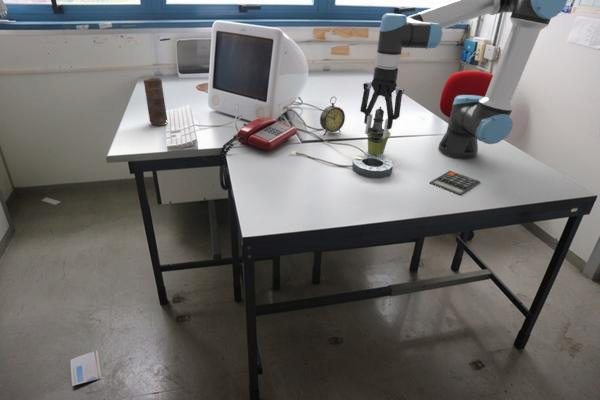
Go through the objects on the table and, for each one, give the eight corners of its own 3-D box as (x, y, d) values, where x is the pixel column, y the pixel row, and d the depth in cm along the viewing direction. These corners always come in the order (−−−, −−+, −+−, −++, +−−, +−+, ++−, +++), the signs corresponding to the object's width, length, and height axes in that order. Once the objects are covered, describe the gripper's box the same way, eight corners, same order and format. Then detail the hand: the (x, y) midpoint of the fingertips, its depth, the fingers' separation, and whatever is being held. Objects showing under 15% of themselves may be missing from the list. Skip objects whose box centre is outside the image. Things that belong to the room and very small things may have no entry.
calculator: (480, 181, 144) (461, 194, 134) (480, 183, 144) (460, 196, 135) (450, 170, 151) (429, 181, 141) (449, 172, 151) (428, 184, 142)
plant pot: (390, 151, 165) (394, 131, 160) (382, 159, 158) (385, 138, 153) (369, 146, 169) (371, 126, 164) (360, 153, 162) (362, 133, 157)
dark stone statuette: (381, 137, 146) (387, 104, 140) (385, 143, 141) (391, 109, 135) (365, 136, 145) (370, 103, 140) (368, 142, 140) (373, 108, 134)
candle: (153, 127, 176) (147, 81, 166) (147, 123, 181) (140, 77, 171) (170, 124, 180) (165, 78, 171) (163, 120, 185) (158, 75, 175)
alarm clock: (324, 136, 176) (327, 99, 168) (317, 132, 180) (319, 96, 172) (344, 132, 182) (347, 96, 174) (336, 129, 185) (340, 93, 177)
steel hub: (396, 168, 151) (398, 160, 150) (382, 182, 141) (384, 173, 139) (361, 158, 157) (362, 151, 156) (346, 171, 147) (346, 163, 145)
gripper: (418, 69, 130) (405, 138, 141) (364, 60, 138) (356, 126, 149) (411, 73, 124) (398, 144, 135) (355, 63, 132) (347, 132, 143)
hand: (376, 135), depth 142 cm, fingers closed on dark stone statuette, 6 cm apart
